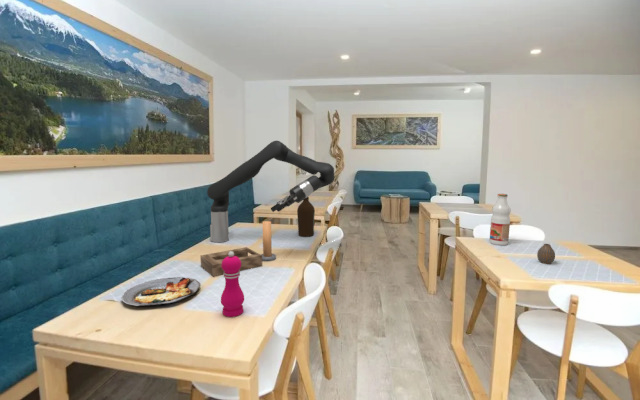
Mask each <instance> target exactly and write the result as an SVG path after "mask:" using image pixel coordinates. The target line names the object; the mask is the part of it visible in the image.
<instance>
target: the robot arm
mask: <svg viewBox="0 0 640 400" xmlns="http://www.w3.org/2000/svg"><path fill="white" fill-rule="evenodd" d="M273 159H275V160H277V161H279V162H284V163H286V164H287V163H288V164H290V165H292V166H295V167H296V168H298V169H300V170H302V171H303V172H306V173H308V174H310V175H311V176H309V177H308V178H307V179H305V180H303V181H301V182H300V183H298V184H296V185H295V186H294V187H292V188H290V190H289V195H286V196H285V197H284V198H282V199H280V200H279V201H277V202H276V204H274V205H273V206H271V207H270V210H271V212H273V213H274V212H275V211H277V212H279V213H280V212H281V211H282V210H284V209H285V208H288V207H290V206H291V205H292V204H294V203H296V204H299V203H302V202H303V200H304V199H305V198H307V197H310V196H311V195H312V194H313V193H314V192H316V191H317V190H319V189H320V188H324V187H326V186H330V185H331V184H332V183H333V182H334V181H335V168H334V166H333V165H332V164H331V163H328V162H322V161H316V160H314V159H312V158H311V157H307V156H306V155H301V154H298V153H296V152H294V151H293V150H292V149H290V147H289V148H288V147H287V145H286V144H284V143H283V142H281V141H280V140H273V141H271V142H270V143H268V144H267V145H266V146H265V147H264V148H263V149H261V150H260V151H259V152H258V153H256V154H255V155H253V156H252V157H251V158H249V159H248V160H247V161H244V163H242V164H240V165H239V166H238V167H236V168H235V169H233V170H232V171H231V172H229V174H227V175H226V176H225V177H223V178H222V179H219V180H217V181H216V182H214V183H212V184H210V185H209V186H208V188H207V191H206V193H207V196H208V198H209V199H211V200H213V203H212V205H210V219H211V220H210V221H211V222H210V225H209V231H210V232H209V233H210V242H213V243H224V242H228V241H230V239H229V237H230V234H229V233H230V232H229V210H228V209H229V205H230V191H231V190H232V189H234V188H236V187H238V186H240V185H243V184H245V183H247V182H249V181H250V180H251V179H253V178H255V177H256V176H257V175H258V174H259V173H260V171H261V170H262V169H263V166H264V165H265V164H267V162H269V161H271V160H273ZM318 173H319V177H318V176H317V174H318Z"/></svg>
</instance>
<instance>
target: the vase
mask: <svg viewBox="0 0 640 400" xmlns="http://www.w3.org/2000/svg"><path fill="white" fill-rule="evenodd" d="M536 256H537V260H538V262H540V263H541V264H545V265H551V264H552V263H553V262H554V261H555V259H556V252H555V249H553V247H552V246H551V244H550V243H543V244H542V246H541V247H539V248H538V251H537V254H536Z"/></svg>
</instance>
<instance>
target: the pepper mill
mask: <svg viewBox="0 0 640 400" xmlns="http://www.w3.org/2000/svg"><path fill="white" fill-rule="evenodd" d="M221 266H222V269H223V270H224V273H223V274H224V275H223V278H225V280H224V281H225V285H224V289H223V291H222V294H221V296H220V303H221V306H223V307H222V315H223V316H225V317H228V318H233V317H234V318H235V317H238V316H240V315H242V314H243V313H244V305H243V304H244V302H245V295H244V291H243V290H242V288H241V285H240V282H239V278H240V275H241V274H240V273H241V271H239V269H240V268H241V260H240V259H239V258H238V257H237V256H234V252H232V251H230V252H229V253H228V257H226V258H224V259H223V261H222V265H221Z"/></svg>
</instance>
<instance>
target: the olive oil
mask: <svg viewBox="0 0 640 400" xmlns="http://www.w3.org/2000/svg"><path fill="white" fill-rule="evenodd" d="M309 197H310V196H308V197H307V198H305V199H304V200H302V201H301V202H300V204H299V205H298V206H297V212H296V213H297V229H298V230H297V234H298V236H299V237H302V238H308V237H313V236H314V235H315V234H314V232H315V207H314V206H313V204H312V203H311V201H310V200H309V199H310V198H309Z"/></svg>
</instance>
